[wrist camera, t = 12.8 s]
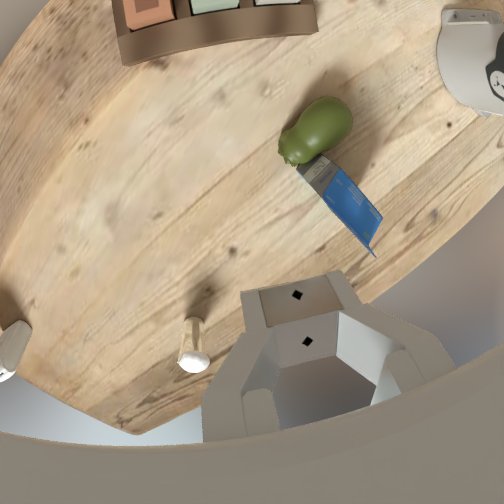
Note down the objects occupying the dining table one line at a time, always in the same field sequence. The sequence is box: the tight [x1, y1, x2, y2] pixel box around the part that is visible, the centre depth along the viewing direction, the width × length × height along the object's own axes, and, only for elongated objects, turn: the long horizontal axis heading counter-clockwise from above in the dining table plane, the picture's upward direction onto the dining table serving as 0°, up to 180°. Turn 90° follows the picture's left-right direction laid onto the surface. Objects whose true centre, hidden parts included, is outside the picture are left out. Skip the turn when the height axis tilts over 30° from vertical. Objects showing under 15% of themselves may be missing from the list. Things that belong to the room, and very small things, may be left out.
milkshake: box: [177, 316, 210, 373], centre depth 44 cm, size 5×5×10 cm
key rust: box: [123, 0, 176, 31], centre depth 22 cm, size 4×4×5 cm
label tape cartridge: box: [296, 153, 383, 258], centre depth 33 cm, size 9×4×12 cm, turn 47°
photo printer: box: [0, 320, 32, 382], centre depth 40 cm, size 10×4×12 cm, turn 117°
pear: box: [278, 96, 353, 167], centre depth 33 cm, size 6×5×10 cm
